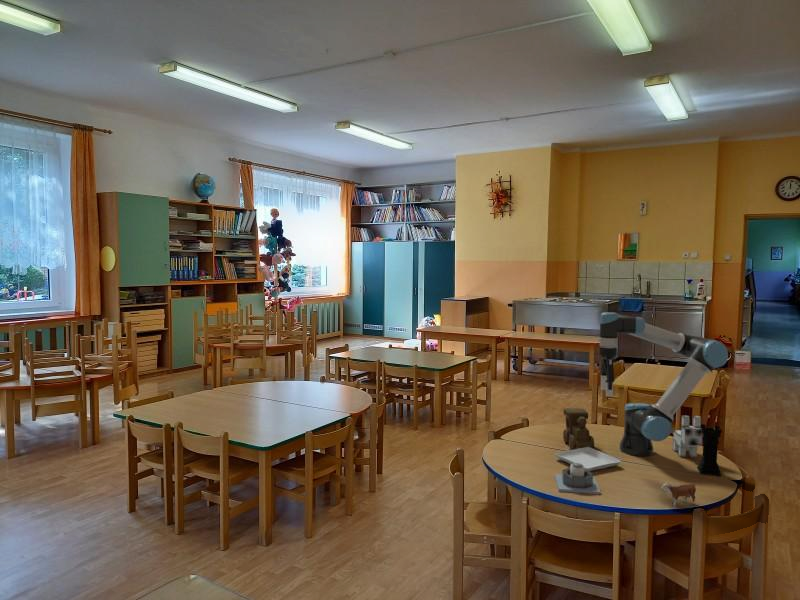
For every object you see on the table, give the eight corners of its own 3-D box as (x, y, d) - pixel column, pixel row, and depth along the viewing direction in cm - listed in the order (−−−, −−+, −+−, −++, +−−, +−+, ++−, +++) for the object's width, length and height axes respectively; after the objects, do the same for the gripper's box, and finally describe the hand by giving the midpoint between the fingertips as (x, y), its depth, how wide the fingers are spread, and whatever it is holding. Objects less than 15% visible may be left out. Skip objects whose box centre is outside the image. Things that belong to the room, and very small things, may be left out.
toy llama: (687, 448, 282) (688, 408, 280) (701, 461, 265) (703, 418, 263) (670, 448, 283) (672, 408, 281) (683, 460, 265) (685, 418, 264)
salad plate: (586, 475, 247) (586, 467, 247) (553, 459, 266) (553, 452, 266) (622, 468, 256) (622, 460, 256) (588, 453, 276) (588, 446, 275)
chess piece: (717, 469, 254) (719, 425, 253) (721, 476, 247) (723, 430, 245) (697, 467, 257) (699, 423, 255) (700, 473, 249) (702, 428, 248)
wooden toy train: (560, 439, 295) (561, 407, 294) (583, 439, 295) (584, 407, 294) (572, 452, 275) (573, 418, 274) (595, 453, 275) (597, 418, 274)
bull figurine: (658, 501, 221) (659, 480, 220) (692, 500, 222) (693, 479, 221) (664, 506, 217) (665, 485, 216) (698, 505, 218) (699, 484, 217)
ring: (589, 478, 241) (589, 469, 240) (593, 489, 229) (594, 479, 229) (561, 476, 243) (561, 467, 242) (564, 487, 231) (564, 477, 231)
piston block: (593, 479, 243) (594, 459, 242) (600, 494, 227) (601, 473, 226) (554, 476, 245) (555, 456, 245) (558, 491, 230) (559, 470, 229)
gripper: (594, 342, 273) (593, 386, 274) (604, 350, 248) (602, 399, 250) (611, 342, 272) (609, 387, 273) (622, 351, 247) (620, 400, 249)
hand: (606, 393), depth 262 cm, fingers open, 13 cm apart
